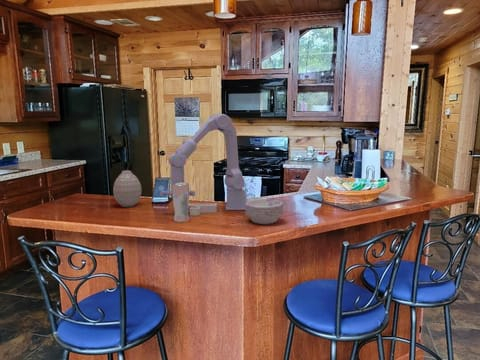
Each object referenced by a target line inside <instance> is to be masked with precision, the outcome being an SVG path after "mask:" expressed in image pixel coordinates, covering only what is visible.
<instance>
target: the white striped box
mask: <svg viewBox="0 0 480 360" xmlns="http://www.w3.org/2000/svg"><path fill="white" fill-rule="evenodd" d="M191 206H200V214H203V213H204V214H206V213H207V214H208V213H210V214H212V213H214V214H216V213H217V211H218V203H217V202H189V205H188V214H190V208H191Z"/></svg>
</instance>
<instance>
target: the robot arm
mask: <svg viewBox="0 0 480 360" xmlns="http://www.w3.org/2000/svg"><path fill="white" fill-rule="evenodd" d="M216 130H218V131H219V132H220V133H221V134H223V135H224V143H225V155H226V168H227V169H226V171H225V178H224V184H225V186H226V205H225V210H226V211H228V210H229V211H234V210H235V211H242V210H244V211H245V210H246V209H245V204H246V202H248V200H247V192H248V191H247V189H244V187H245V179H244V176H243V173H242V171H241V169H240V165H239V162H240V161H239V149H238V137H237V129H236V127H235V125H234V123H233V122H232V119H231V117H229V115H227V114H224V113H221V114H219V113H218V114H216V113H213V114H211V115H210V116H209V118H207V119H206V120H205V121H204V122H203V124H202V125H201V126H200V127H199V129H198V130H197V131H196V132H195V133H194V135H193V136H192V137H191V138H188V139H185V140H183V141H182V142H181V145H180V146H179V147H178V148H177V149H175V150H174V152H173V153H171V154H170V155H169V158H168V163H169V165H170V190H160V197H164V196H166V197H168V196H170V197H171V198H170V199H171V201H172V202H173V199H172V184H173V183H185V165H186V162H187V160H188V159H189V158H190V156H192V154H193V153H194V152H195V151H196V150H197V148H198V147H197V145H198V143H200V141H201V140H202V139H203V138H204V137H205V136H206V135H207V134H208V133H209V132H212V131H216ZM189 192H190V197H191V196H192V197H195V196H196V191H195V190H189Z"/></svg>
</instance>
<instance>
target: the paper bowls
mask: <svg viewBox="0 0 480 360" xmlns="http://www.w3.org/2000/svg"><path fill="white" fill-rule="evenodd" d="M245 209H246V210H244V211H245V216H247V217H248V218H249V219H250V221H251V222H253V223H254V224H260V225H271V224H274V222H275V223H276V222H277V221H278V219H279V217H283V215H284V202H283V201H281V200H277V199H274V198H273V199H271V198H258V199H251V200H247V202H246V204H245ZM270 223H271V224H270Z"/></svg>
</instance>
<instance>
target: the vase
mask: <svg viewBox="0 0 480 360" xmlns="http://www.w3.org/2000/svg"><path fill="white" fill-rule="evenodd" d="M112 189H113V191H112V192H113V197H114V198H115V201H116V202H117V204H119V205H120V207H124V208H131V207H134V206H136V205H137V204H138V202H139V201H140V200H141V195H142V184H141V182H140V180H139V178H138V177H137V175H135V174H134V173H132V171H131V170H122V171H121V173H120V174H119V175H118V177H116V179H115V181H114V183H113V188H112Z"/></svg>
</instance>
